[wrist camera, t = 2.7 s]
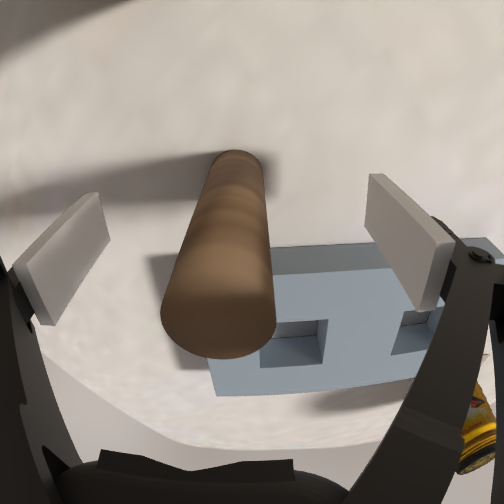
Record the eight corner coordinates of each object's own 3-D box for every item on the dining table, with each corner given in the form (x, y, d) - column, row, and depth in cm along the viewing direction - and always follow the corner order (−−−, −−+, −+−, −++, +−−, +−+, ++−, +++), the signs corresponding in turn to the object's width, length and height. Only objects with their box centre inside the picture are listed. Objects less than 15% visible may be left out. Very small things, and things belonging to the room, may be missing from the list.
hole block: (196, 251, 21) (189, 279, 19) (486, 237, 21) (507, 258, 18) (218, 368, 27) (216, 396, 25) (446, 345, 27) (458, 367, 24)
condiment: (439, 354, 28) (482, 453, 17) (489, 353, 28) (530, 434, 18) (406, 396, 31) (434, 486, 21) (456, 392, 32) (487, 469, 22)
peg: (207, 151, 18) (148, 276, 7) (261, 148, 18) (275, 271, 7) (213, 200, 19) (173, 359, 9) (263, 197, 19) (277, 357, 9)
